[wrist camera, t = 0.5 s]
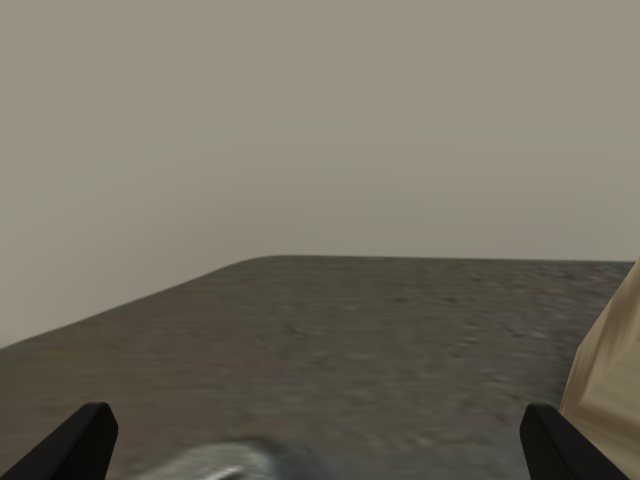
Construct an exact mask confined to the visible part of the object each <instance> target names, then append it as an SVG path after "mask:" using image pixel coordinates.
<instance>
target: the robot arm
mask: <svg viewBox="0 0 640 480" xmlns="http://www.w3.org/2000/svg"><path fill="white" fill-rule="evenodd" d="M117 436H118V424H117V421H116V419H115V417H114V415H113V413H112V411H111V408H110V406H109V405H108V404H107V403H106V402H88V403H86V404H84V405H83V406H82V407H80V408H79V409H78V410H77V411H76V412H75V413H73V414H72V415H71V416H70V417H69V418H68V419H67V420H65V421H64V422H63V423H62V424H61V425H60V426H58V427H57V428H56V429H55V430H54V431H53V432H52V433H50V434H49V435H48V436H47V437H46V438H45V439H43V440H42V441H41V442H40V443H39V444H38V445H36V446H35V447H34V448H33V449H32V450H31V451H30V452H28V453H27V454H26V455H25V456H24V457H23V458H21V459H20V460H19V461H18V462H17V463H16V464H15V465H13V466H12V467H11V468H10V469H9V470H8V471H6V472H5V473H4V474H3V475H2V476H1V477H0V480H105V477H106V474H107V470H108V467H109V463H110V460H111V456H112V453H113V450H114V446H115V443H116V439H117ZM520 439H521V443H522V447H523V450H524V454H525V458H526V462H527V466H528V470H529V474H530V477H531V480H631V479H630V478H628V477H627V476H626V475H625V474H624V473H623V472H622V471H621V470H620V469H619V468H618V467H617V466H616V465H615V464H614V463H613V462H611V461H610V460H609V459H608V458H607V457H606V456H605V455H604V454H603V453H602V452H601V451H600V450H599V449H598V448H597V447H596V446H595V445H593V444H592V443H591V442H590V441H589V440H588V439H587V438H586V437H585V436H584V435H583V434H582V433H581V432H580V431H579V430H578V429H576V428H575V427H574V426H573V425H572V424H571V423H570V422H569V421H568V420H567V419H566V418H565V417H564V416H563V415H562V414H561V413H559V412H558V411H557V410H556V409H555V408H554V407H553V406H551V405H550V404H546V403H531V404H529V405H528V406H527V408H526V411H525V414H524V416H523V419H522V422H521V425H520Z"/></svg>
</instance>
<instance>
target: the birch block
mask: <svg viewBox="0 0 640 480" xmlns="http://www.w3.org/2000/svg"><path fill="white" fill-rule="evenodd" d="M558 412H559V413H561V414H562V415H563V416H564V417H565V418H566V419H567V420H568V421H569V422H570V423H571V424H572V425H573V426H574V427H575V428H576V429H578V430H579V431H580V432H581V433H582V434H583V435H584V436H585V437H586V438H587V439H588V440H589V441H590V442H591V443H592V444H593V445H595V446H596V447H597V448H598V449H599V450H600V451H601V452H602V453H603V454H604V455H605V456H606V457H607V458H608V459H609V460H610V461H611V462H613V463H614V464H615V465H616V466H617V467H618V468H619V469H620V470H621V471H622V472H623V473H624V474H625V475H626V476H627V477H628V478H630V479H631V480H640V257H639V259H638V260H637V262H636V263H635V265H634V266H633V268H632V269H631V270H630V272H629V273H628V275H627V276H626V278H625V279H624V281H623V282H622V284H621V285H620V287H619V288H618V290H617V291H616V293H615V294H614V295H613V297H612V298H611V300H610V301H609V303H608V304H607V306H606V307H605V309H604V310H603V312H602V313H601V315H600V316H599V318H598V319H597V320H596V322H595V323H594V325H593V326H592V328H591V329H590V331H589V332H588V334H587V335H586V337H585V338H584V340H583V341H582V343H581V344H580V345H579V347H578V349H577V352H576V355H575V359H574V362H573V365H572V368H571V371H570V375H569V378H568V381H567V384H566V388H565V391H564V394H563V397H562V400H561V404H560V407H559V410H558Z"/></svg>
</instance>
